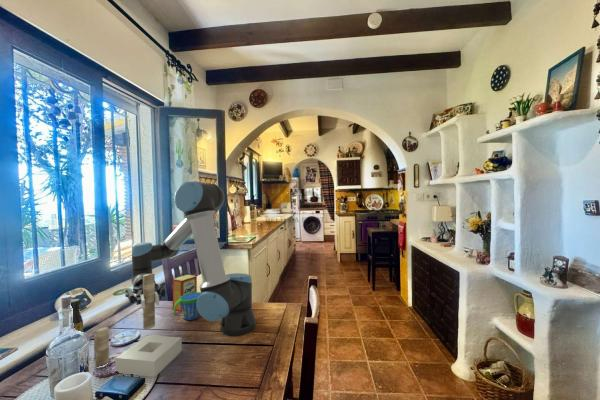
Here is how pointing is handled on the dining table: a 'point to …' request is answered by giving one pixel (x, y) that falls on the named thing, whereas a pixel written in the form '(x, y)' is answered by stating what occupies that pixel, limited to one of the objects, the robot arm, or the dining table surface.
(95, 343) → the short dowel
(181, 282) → the baking soda box
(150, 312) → the tall dowel
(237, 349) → the dining table surface
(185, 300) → the snack cup
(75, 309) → the sauce bottle
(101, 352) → the medium dowel
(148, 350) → the hole block
